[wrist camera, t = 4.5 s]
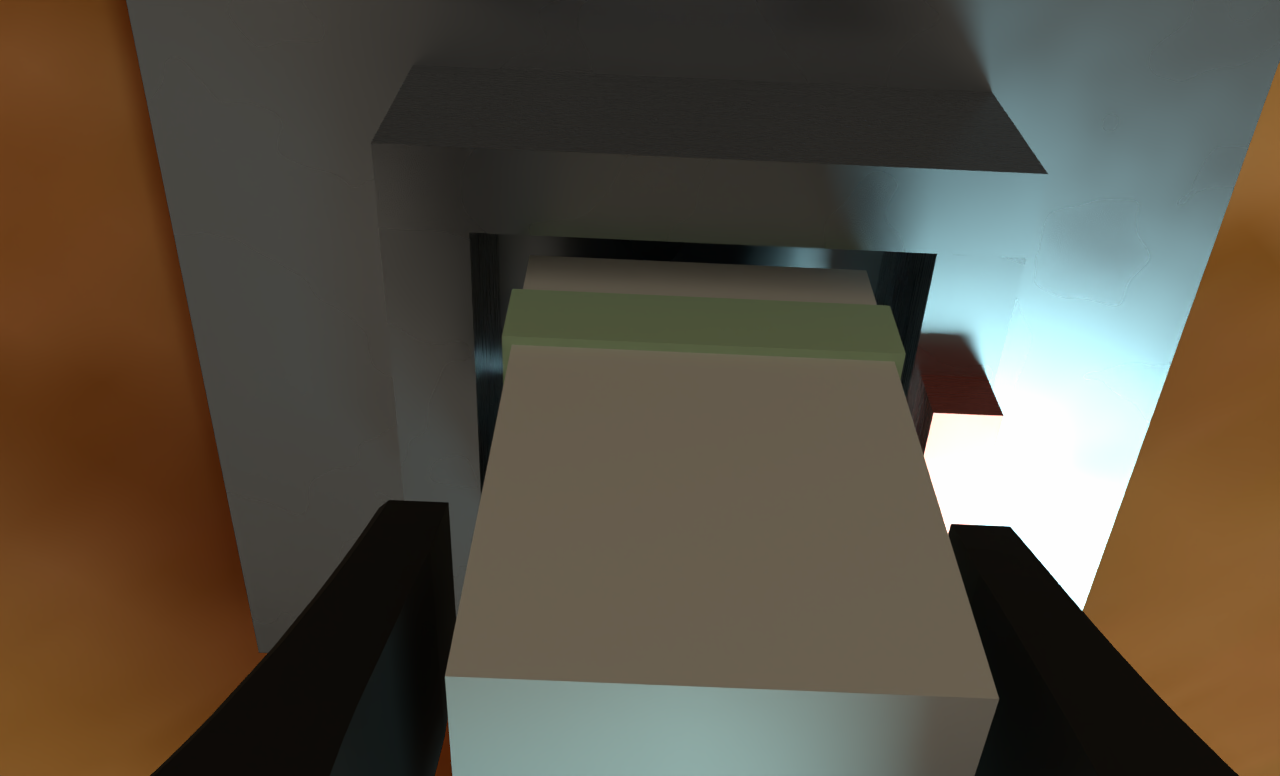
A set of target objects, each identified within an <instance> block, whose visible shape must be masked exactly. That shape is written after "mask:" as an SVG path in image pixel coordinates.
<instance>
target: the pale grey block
mask: <svg viewBox="0 0 1280 776" xmlns="http://www.w3.org/2000/svg"><path fill="white" fill-rule="evenodd" d="M905 355H906V353H905V350H904V347H903V344H902V341H901V338H900V335H899V332H898V329H897V326H896V323H895V320H894V317H893V314H892V311H891V308H890V306H887V305H877V303H876V300H875V297H874V294H873V290H872V287H871V284H870V281H869V278H868V274H867V271H866V270H848V269H826V268H803V267H781V266H759V265H737V264H715V263H693V262H670V261H648V260H626V259H604V258H582V257H559V256H537V255H530V256H529V261H528V266H527V271H526V276H525V281H524V286H523V289H512V292H511V296H510V301H509V305H508V310H507V315H506V319H505V324H504V328H503V333H502V358H503V390H502V395H501V400H500V405H499V410H498V415H497V420H496V425H495V430H494V435H493V440H492V445H491V450H490V455H489V460H488V465H487V470H486V475H485V480H484V485H483V490H482V495H481V500H480V504H479V509H478V514H477V519H476V524H475V529H474V534H473V539H472V544H471V549H470V554H469V559H468V564H467V569H466V574H465V579H464V584H463V589H462V594H461V599H460V604H459V609H458V614H457V619H456V624H455V629H454V634H453V639H452V644H451V649H450V653H449V658H448V663H447V668H446V673H445V685H446V698H447V711H448V724H449V737H450V751H451V764H452V776H975V773H976V769H977V766H978V763H979V760H980V757H981V754H982V751H983V748H984V745H985V741H986V738H987V735H988V732H989V729H990V726H991V723H992V720H993V717H994V714H995V710H996V707H997V704H998V701H999V697H998V693H997V690H996V687H995V684H994V681H993V677H992V674H991V671H990V668H989V664H988V661H987V658H986V655H985V652H984V648H983V645H982V642H981V639H980V635H979V632H978V629H977V626H976V623H975V619H974V616H973V613H972V610H971V606H970V603H969V600H968V597H967V594H966V590H965V587H964V584H963V581H962V577H961V574H960V571H959V568H958V565H957V561H956V558H955V555H954V552H953V548H952V545H951V542H950V539H949V536H948V532H947V529H946V526H945V523H944V519H943V516H942V513H941V510H940V506H939V503H938V500H937V497H936V494H935V490H934V487H933V484H932V481H931V477H930V474H929V471H928V468H927V465H926V461H925V458H924V455H923V452H922V448H921V445H920V442H919V439H918V436H917V432H916V429H915V426H914V423H913V419H912V416H911V413H910V410H909V407H908V403H907V400H906V397H905V394H904V390H903V387H902V384H901V381H900V379H901V374H902V369H903V365H904V360H905Z"/></svg>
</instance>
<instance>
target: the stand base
mask: <svg viewBox="0 0 1280 776" xmlns="http://www.w3.org/2000/svg"><path fill="white" fill-rule="evenodd" d="M126 2H127V7H128V12H129V17H130V22H131V27H132V32H133V37H134V42H135V47H136V51H137V56H138V61H139V66H140V71H141V76H142V81H143V86H144V91H145V96H146V100H147V105H148V110H149V115H150V120H151V125H152V130H153V135H154V140H155V145H156V150H157V154H158V159H159V164H160V169H161V174H162V179H163V184H164V189H165V194H166V199H167V204H168V208H169V213H170V218H171V223H172V228H173V233H174V238H175V243H176V248H177V253H178V258H179V262H180V267H181V272H182V277H183V282H184V287H185V292H186V297H187V302H188V307H189V312H190V316H191V321H192V326H193V331H194V336H195V341H196V346H197V351H198V356H199V361H200V366H201V370H202V375H203V380H204V385H205V390H206V395H207V400H208V405H209V410H210V415H211V419H212V424H213V429H214V434H215V439H216V444H217V449H218V454H219V459H220V464H221V469H222V473H223V478H224V483H225V488H226V493H227V498H228V503H229V508H230V513H231V518H232V523H233V527H234V532H235V537H236V542H237V547H238V552H239V557H240V562H241V567H242V572H243V577H244V581H245V586H246V591H247V596H248V601H249V606H250V611H251V616H252V621H253V626H254V631H255V635H256V640H257V645H258V650H259V652H260V653H268V652H269V651H270V650H271V649H272V648H273V647H274V645H275V644H276V643H277V642H278V641H279V639H280V638H281V637H282V636H283V635H284V633H285V632H286V631H287V630H288V628H289V627H290V626H291V625H292V624H293V622H294V621H295V620H296V619H297V617H298V616H299V615H300V614H301V612H302V611H303V610H304V609H305V608H306V606H307V605H308V604H309V603H310V601H311V600H312V599H313V598H314V597H315V595H316V594H317V593H318V591H319V590H320V589H321V588H322V586H323V585H324V584H325V582H326V581H327V580H328V578H329V577H330V576H331V574H332V573H333V572H334V570H335V569H336V568H337V567H338V565H339V564H340V563H341V561H342V560H343V558H344V557H345V556H346V554H347V553H348V552H349V550H350V549H351V547H352V546H353V545H354V543H355V542H356V540H357V539H358V538H359V536H360V535H361V533H362V532H363V530H364V529H365V528H366V526H367V525H368V523H369V522H370V520H371V519H372V517H373V516H374V514H375V513H376V511H377V510H378V508H379V507H381V506H382V505H383V504H384V503H386V502H387V501H388V500H404V501H428V502H449V517H450V532H451V548H452V563H453V578H454V594H455V609H456V619H457V614H458V609H459V604H460V599H461V594H462V589H463V584H464V579H465V574H466V569H467V564H468V559H469V554H470V549H471V544H472V539H473V534H474V529H475V524H476V519H477V514H478V509H479V504H480V500H481V495H482V490H483V485H484V480H485V475H486V470H487V465H488V460H489V455H490V450H491V445H492V440H493V435H494V430H495V425H496V420H497V415H498V410H499V405H500V400H501V395H502V390H503V358H502V333H503V328H504V324H505V319H506V315H507V310H508V305H509V301H510V296H511V292H512V289H523V286H524V281H525V276H526V271H527V266H528V261H529V256H530V255H537V256H559V257H582V258H604V259H626V260H648V261H670V262H693V263H715V264H737V265H759V266H781V267H803V268H826V269H848V270H866V271H867V274H868V278H869V281H870V284H871V287H872V290H873V294H874V297H875V300H876V303H877V305H887V306H890V308H891V311H892V314H893V317H894V320H895V323H896V326H897V329H898V332H899V335H900V338H901V341H902V344H903V347H904V350H905V353H906V355H905V360H904V365H903V369H902V374H901V379H900V381H901V384H902V387H903V390H904V394H905V397H906V400H907V403H908V407H909V410H910V413H911V416H912V419H913V423H914V426H915V429H916V432H917V436H918V439H919V442H920V445H921V448H922V452H923V455H924V458H925V461H926V465H927V468H928V471H929V474H930V477H931V481H932V484H933V487H934V490H935V494H936V497H937V500H938V503H939V506H940V510H941V513H942V516H943V519H944V523H945V526H946V529H947V532H948V533H949V529H950V525H951V524H969V525H993V526H1010V527H1011V528H1012V529H1013V530H1014V531H1015V532H1016V533H1017V535H1018V536H1019V537H1020V538H1021V539H1022V540H1023V542H1024V543H1025V544H1026V545H1027V546H1028V547H1029V549H1030V550H1031V551H1032V552H1033V553H1034V555H1035V556H1036V557H1037V558H1038V559H1039V560H1040V562H1041V563H1042V564H1043V565H1044V566H1045V567H1046V569H1047V570H1048V571H1049V572H1050V573H1051V575H1052V576H1053V577H1054V578H1055V579H1056V580H1057V582H1058V583H1059V584H1060V585H1061V586H1062V588H1063V589H1064V590H1065V591H1066V592H1067V593H1068V595H1069V596H1070V597H1071V598H1072V599H1073V601H1074V602H1075V603H1076V604H1077V605H1078V606H1079V607H1080V609H1081V610H1083V607H1084V604H1085V602H1086V599H1087V596H1088V593H1089V590H1090V588H1091V585H1092V582H1093V579H1094V576H1095V574H1096V571H1097V568H1098V565H1099V563H1100V560H1101V557H1102V554H1103V551H1104V549H1105V546H1106V543H1107V540H1108V537H1109V535H1110V532H1111V529H1112V526H1113V524H1114V521H1115V518H1116V515H1117V512H1118V510H1119V507H1120V504H1121V501H1122V498H1123V496H1124V493H1125V490H1126V487H1127V485H1128V482H1129V479H1130V476H1131V473H1132V471H1133V468H1134V465H1135V462H1136V459H1137V457H1138V454H1139V451H1140V448H1141V445H1142V443H1143V440H1144V437H1145V434H1146V432H1147V429H1148V426H1149V423H1150V420H1151V418H1152V415H1153V412H1154V409H1155V406H1156V404H1157V401H1158V398H1159V395H1160V393H1161V390H1162V387H1163V384H1164V381H1165V379H1166V376H1167V373H1168V370H1169V367H1170V365H1171V362H1172V359H1173V356H1174V354H1175V351H1176V348H1177V345H1178V342H1179V340H1180V337H1181V334H1182V331H1183V328H1184V326H1185V323H1186V320H1187V317H1188V314H1189V312H1190V309H1191V306H1192V303H1193V301H1194V298H1195V295H1196V292H1197V289H1198V287H1199V284H1200V281H1201V278H1202V275H1203V273H1204V270H1205V267H1206V264H1207V262H1208V259H1209V256H1210V253H1211V250H1212V248H1213V245H1214V242H1215V239H1216V236H1217V234H1218V231H1219V228H1220V225H1221V223H1222V220H1223V217H1224V214H1225V211H1226V209H1227V206H1228V203H1229V200H1230V197H1231V195H1232V192H1233V189H1234V186H1235V183H1236V181H1237V178H1238V175H1239V172H1240V170H1241V167H1242V164H1243V161H1244V158H1245V156H1246V153H1247V150H1248V147H1249V144H1250V142H1251V139H1252V136H1253V133H1254V131H1255V128H1256V125H1257V122H1258V119H1259V117H1260V114H1261V111H1262V108H1263V105H1264V103H1265V100H1266V97H1267V94H1268V92H1269V89H1270V86H1271V83H1272V80H1273V78H1274V75H1275V72H1276V69H1277V66H1278V64H1279V61H1280V0H126Z"/></svg>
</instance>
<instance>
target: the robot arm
mask: <svg viewBox="0 0 1280 776" xmlns="http://www.w3.org/2000/svg"><path fill="white" fill-rule="evenodd" d="M948 536H949V539H950V542H951V545H952V548H953V552H954V555H955V558H956V561H957V565H958V568H959V571H960V574H961V577H962V581H963V584H964V587H965V590H966V594H967V597H968V600H969V603H970V606H971V610H972V613H973V616H974V619H975V623H976V626H977V629H978V632H979V635H980V639H981V642H982V645H983V648H984V652H985V655H986V658H987V661H988V664H989V668H990V671H991V674H992V677H993V681H994V684H995V687H996V690H997V693H998V697H999V701H998V704H997V707H996V710H995V714H994V717H993V720H992V723H991V726H990V729H989V732H988V735H987V738H986V741H985V745H984V748H983V751H982V754H981V757H980V760H979V763H978V766H977V769H976V773H975V776H1239V775H1238V774H1237V773H1235V772H1234V771H1233V770H1232V769H1231V768H1230V767H1229V766H1228V765H1227V764H1226V763H1225V762H1224V761H1223V760H1222V759H1221V758H1220V757H1219V756H1218V755H1217V754H1216V753H1215V752H1214V751H1213V750H1212V749H1211V748H1210V747H1209V746H1208V745H1207V744H1206V743H1205V742H1204V741H1203V740H1202V739H1201V738H1200V737H1199V736H1198V735H1197V734H1196V733H1195V732H1194V731H1193V730H1192V729H1191V728H1190V727H1189V726H1188V725H1187V724H1186V723H1185V722H1184V721H1182V720H1181V719H1180V718H1179V717H1178V716H1177V714H1176V713H1175V712H1174V711H1173V710H1172V709H1171V708H1170V707H1169V706H1168V705H1167V704H1166V703H1165V702H1164V701H1163V700H1162V699H1161V698H1160V697H1159V696H1158V695H1157V694H1156V693H1155V692H1154V690H1153V689H1152V688H1151V687H1150V686H1149V685H1148V684H1147V683H1146V682H1145V681H1144V679H1143V678H1142V677H1141V676H1140V675H1139V674H1138V673H1137V672H1136V671H1135V670H1134V669H1133V667H1132V666H1131V665H1130V664H1129V663H1128V662H1127V661H1126V660H1125V659H1124V658H1123V657H1122V655H1121V654H1120V653H1119V652H1118V651H1117V650H1116V649H1115V648H1114V647H1113V645H1112V644H1111V643H1110V642H1109V641H1108V640H1107V639H1106V638H1105V636H1104V635H1103V634H1102V633H1101V632H1100V631H1099V630H1098V628H1097V627H1096V626H1095V625H1094V624H1093V623H1092V621H1091V620H1090V619H1089V618H1088V617H1087V616H1086V614H1085V613H1084V612H1083V611H1082V610H1081V609H1080V607H1079V606H1078V605H1077V604H1076V603H1075V602H1074V601H1073V599H1072V598H1071V597H1070V596H1069V595H1068V593H1067V592H1066V591H1065V590H1064V589H1063V588H1062V586H1061V585H1060V584H1059V583H1058V582H1057V580H1056V579H1055V578H1054V577H1053V576H1052V575H1051V573H1050V572H1049V571H1048V570H1047V569H1046V567H1045V566H1044V565H1043V564H1042V563H1041V562H1040V560H1039V559H1038V558H1037V557H1036V556H1035V555H1034V553H1033V552H1032V551H1031V550H1030V549H1029V547H1028V546H1027V545H1026V544H1025V543H1024V542H1023V540H1022V539H1021V538H1020V537H1019V536H1018V535H1017V533H1016V532H1015V531H1014V530H1013V529H1012V528H1011V527H1010V526H993V525H969V524H951V525H950V529H949V533H948ZM455 624H456V609H455V594H454V578H453V563H452V548H451V532H450V517H449V502H428V501H404V500H388V501H387V502H386V503H384V504H383V505H382V506H381V507H379V508H378V510H377V511H376V513H375V514H374V516H373V517H372V519H371V520H370V522H369V523H368V525H367V526H366V528H365V529H364V530H363V532H362V533H361V535H360V536H359V538H358V539H357V540H356V542H355V543H354V545H353V546H352V547H351V549H350V550H349V552H348V553H347V554H346V556H345V557H344V558H343V560H342V561H341V563H340V564H339V565H338V567H337V568H336V569H335V570H334V572H333V573H332V574H331V576H330V577H329V578H328V580H327V581H326V582H325V584H324V585H323V586H322V588H321V589H320V590H319V591H318V593H317V594H316V595H315V597H314V598H313V599H312V600H311V601H310V603H309V604H308V605H307V606H306V608H305V609H304V610H303V611H302V612H301V614H300V615H299V616H298V617H297V619H296V620H295V621H294V622H293V624H292V625H291V626H290V627H289V628H288V630H287V631H286V632H285V633H284V635H283V636H282V637H281V638H280V639H279V641H278V642H277V643H276V644H275V645H274V647H273V648H272V649H271V650H270V651H269V652H268V654H267V655H266V656H265V657H264V658H263V659H262V661H261V662H260V663H259V664H258V665H257V666H256V667H255V668H254V669H253V670H252V671H251V673H250V674H249V675H248V676H247V677H246V678H245V679H244V680H243V681H242V682H241V683H240V685H239V686H238V687H237V688H236V689H235V690H234V691H233V692H232V693H231V694H230V696H229V697H228V698H227V699H226V700H225V701H224V702H223V703H222V704H221V705H220V706H219V708H218V709H217V710H216V711H215V712H214V713H213V714H212V715H211V716H210V717H209V718H208V719H207V720H206V721H205V722H204V723H203V724H202V726H201V727H200V728H199V729H198V730H197V731H196V732H195V733H194V734H193V735H192V736H191V737H190V738H189V739H188V740H187V741H186V742H185V743H184V744H183V745H182V746H181V747H180V748H179V749H178V750H177V751H176V752H174V753H173V754H172V755H171V756H170V757H169V758H168V759H167V760H166V761H165V762H164V763H163V764H162V765H161V766H160V767H159V768H158V769H157V770H156V771H155V772H153V773H152V774H151V775H150V776H435V772H436V768H437V765H438V761H439V757H440V753H441V749H442V745H443V741H444V737H445V731H446V724H447V718H448V711H447V698H446V685H445V673H446V668H447V663H448V658H449V653H450V649H451V644H452V639H453V634H454V629H455Z"/></svg>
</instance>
